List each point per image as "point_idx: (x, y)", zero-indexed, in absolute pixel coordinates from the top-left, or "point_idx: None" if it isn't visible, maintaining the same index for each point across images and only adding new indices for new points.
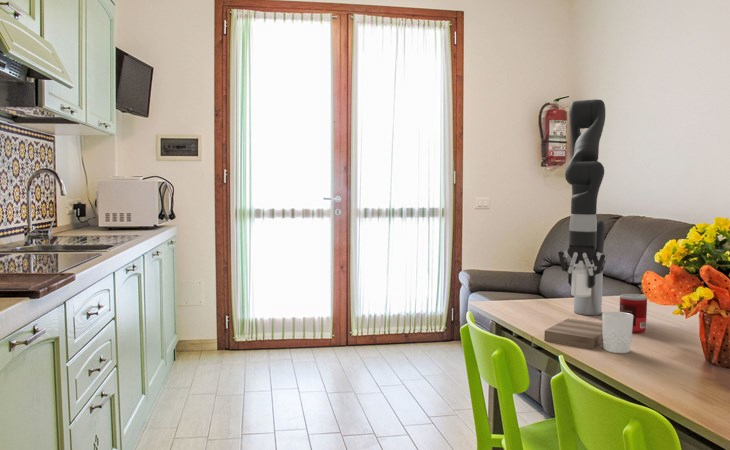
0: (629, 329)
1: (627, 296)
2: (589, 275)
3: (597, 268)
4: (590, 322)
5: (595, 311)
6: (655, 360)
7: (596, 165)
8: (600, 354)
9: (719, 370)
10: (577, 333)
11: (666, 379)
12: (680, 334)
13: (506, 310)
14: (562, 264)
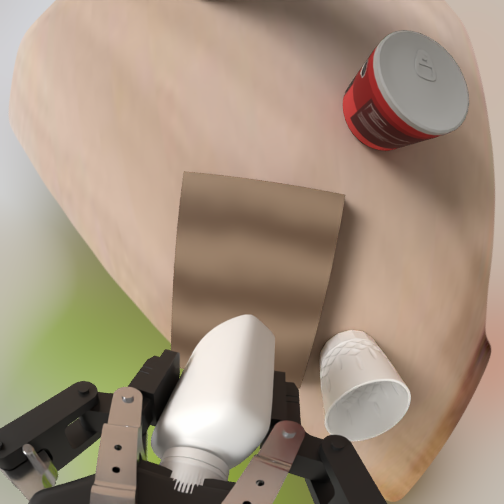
0: (386, 401)
1: (403, 72)
2: (263, 442)
3: (316, 494)
4: (265, 198)
5: None
6: (411, 380)
7: None
8: (314, 398)
9: (482, 370)
10: None
11: (399, 446)
12: (471, 115)
13: (38, 90)
14: (73, 440)
